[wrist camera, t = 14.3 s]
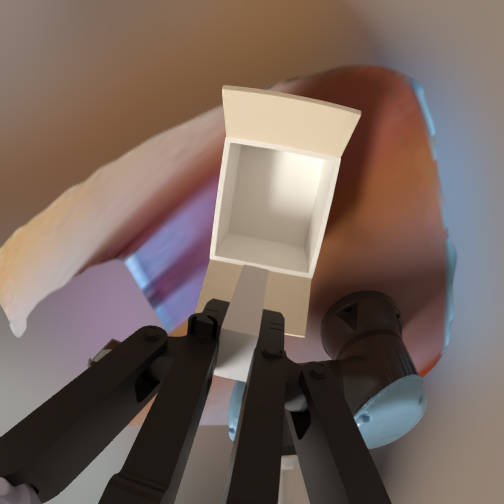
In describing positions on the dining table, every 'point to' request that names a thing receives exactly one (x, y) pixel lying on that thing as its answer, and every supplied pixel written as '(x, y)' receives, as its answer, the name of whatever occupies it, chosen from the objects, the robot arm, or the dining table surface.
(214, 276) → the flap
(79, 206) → the dining table surface
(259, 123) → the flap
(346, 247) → the dining table surface
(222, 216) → the carton
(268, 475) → the robot arm
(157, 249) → the dining table surface
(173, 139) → the dining table surface
